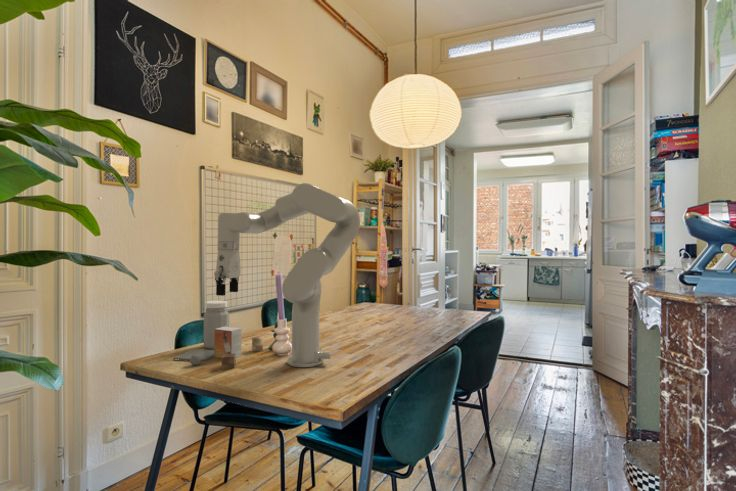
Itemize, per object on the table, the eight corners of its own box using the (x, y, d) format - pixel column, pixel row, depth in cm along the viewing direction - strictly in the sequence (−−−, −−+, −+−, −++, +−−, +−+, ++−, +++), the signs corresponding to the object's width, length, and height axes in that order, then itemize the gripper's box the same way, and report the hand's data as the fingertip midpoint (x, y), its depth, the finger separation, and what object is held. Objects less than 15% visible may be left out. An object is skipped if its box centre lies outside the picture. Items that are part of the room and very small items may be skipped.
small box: (213, 357, 148) (213, 328, 148) (224, 353, 153) (224, 325, 153) (231, 360, 145) (231, 330, 145) (241, 356, 150) (241, 327, 150)
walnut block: (235, 365, 140) (235, 353, 140) (234, 368, 136) (234, 356, 136) (223, 365, 139) (223, 354, 139) (221, 369, 135) (221, 357, 135)
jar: (218, 350, 158) (218, 304, 157) (197, 348, 161) (197, 302, 161) (234, 344, 167) (234, 300, 167) (215, 342, 170) (215, 299, 170)
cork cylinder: (264, 349, 160) (264, 336, 160) (260, 352, 156) (260, 339, 156) (254, 349, 160) (254, 336, 160) (250, 351, 156) (250, 338, 156)
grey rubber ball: (203, 363, 141) (203, 353, 141) (197, 366, 137) (197, 356, 137) (193, 363, 141) (193, 352, 141) (187, 366, 138) (187, 355, 138)
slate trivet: (221, 352, 155) (221, 350, 155) (204, 361, 143) (204, 359, 143) (192, 351, 157) (192, 349, 157) (173, 360, 145) (173, 357, 145)
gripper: (226, 247, 140) (225, 297, 140) (248, 246, 157) (247, 291, 157) (206, 246, 141) (205, 296, 141) (230, 246, 158) (229, 290, 158)
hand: (227, 293), depth 149 cm, fingers open, 9 cm apart
